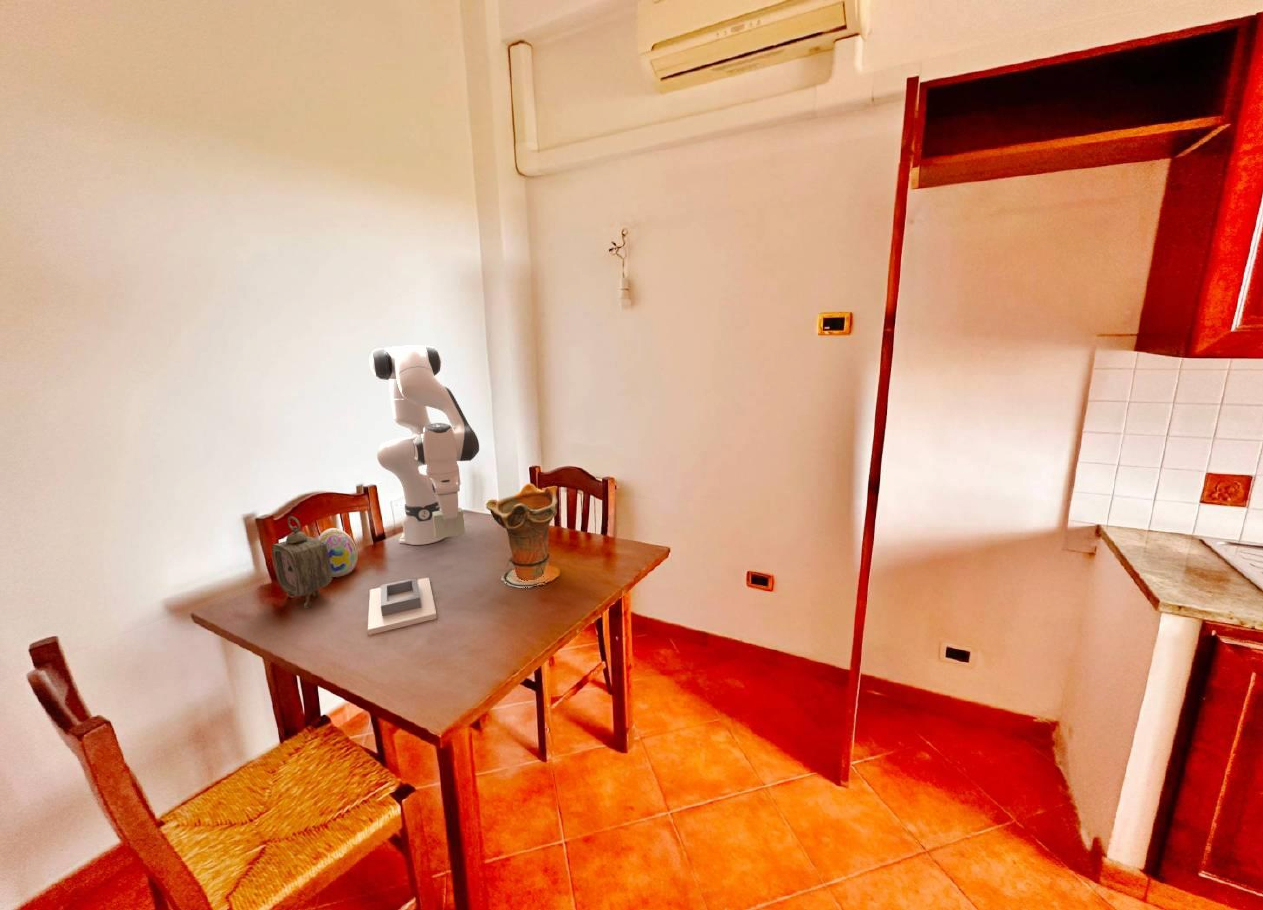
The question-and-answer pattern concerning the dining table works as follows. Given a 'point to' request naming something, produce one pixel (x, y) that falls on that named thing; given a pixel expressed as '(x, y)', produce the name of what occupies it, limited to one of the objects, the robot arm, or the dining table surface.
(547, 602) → the dining table surface
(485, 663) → the dining table surface
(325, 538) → the decorative egg
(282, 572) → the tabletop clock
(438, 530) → the key block
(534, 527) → the decorative vase
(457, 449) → the robot arm
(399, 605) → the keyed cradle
